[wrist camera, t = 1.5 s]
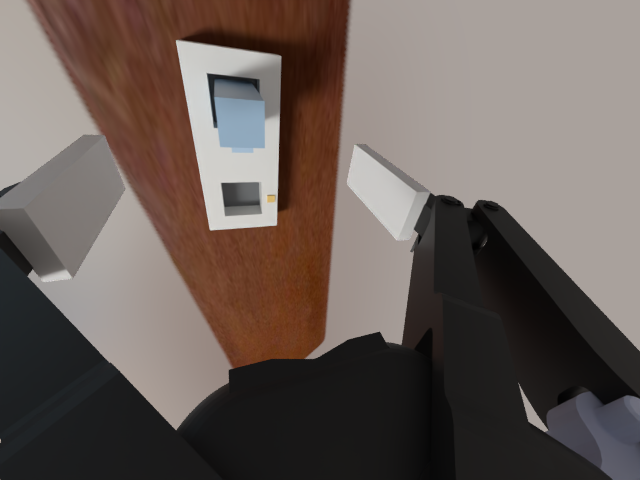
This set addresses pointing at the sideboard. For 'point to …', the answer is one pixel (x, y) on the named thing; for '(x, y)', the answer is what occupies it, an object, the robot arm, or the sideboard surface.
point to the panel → (219, 162)
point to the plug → (239, 115)
